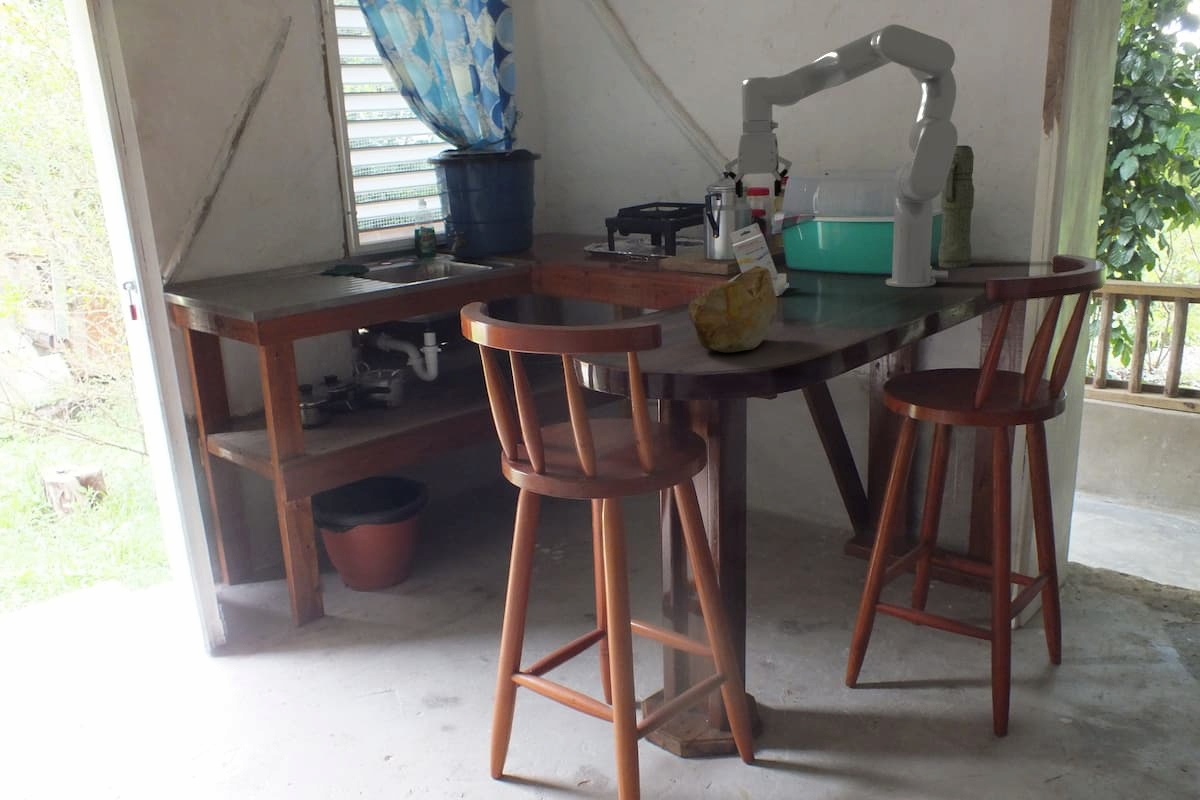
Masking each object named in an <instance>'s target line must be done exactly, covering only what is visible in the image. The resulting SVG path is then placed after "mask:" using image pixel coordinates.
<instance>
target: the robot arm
mask: <svg viewBox="0 0 1200 800" xmlns="http://www.w3.org/2000/svg"><path fill="white" fill-rule="evenodd" d="M955 54H956V53H955V50H954V48H953V46H952V45H950V43H948V42H947V41H945V40H943V39H941V38H938V37H935V36H931V35H929V34H927V33H924V32H920V31H918V30H915V29H912V28H910V27H907V26H905V25H902V24H901V25H900V24H888V25H886V26H884V27H882V28H879V29H877V30H875V31H873V32H871V33H868V34H866V35H864V36H862V37H860V38H858V39H856V40H853V41H851V42H849V43H846V44H844V45H842V46H840V47H837V48H835V49H834V50H831V51H828V52H827V53H826V54H824V55H822V56H820V57H819V58H817V59H815V60H814V61H812V62H810V63H807V64H806V65H804V66H802V67H800V68H797V69H795V70H793V71H791V72H789V73H786V74H783V75H782V74H781V75H779V76H773V77H766V76H759V77H758V76H757V77H749V78H745V79H744V80H743V81H742V82H741V102H742V103H741V106H742V109H741V110H742V111H741V112H742V113H741V115H742V134H740V135H739V140H738V141H739V142H738V150H737V152H738V153H737V158H735V159H733V160H731V161H730V162H728V163H726V164H725V165H724V170H725V171H726V173H727V174H728V176H729V177H730V179H732V180H733V182H734V186H735V189H734V190H735V191H734V192H735V195H737V198H738V199H741V198H743V196H744V189H743V186H744V185H743V183H744V182H743V181H742V179H743V178H744V176H745V175H760V174H771V175H772V176H773V177H774V178H775V180H774V182H773V183H774V186H773V187H774V189H773V190H774V193H773V194H774V197H776V198H777V197H780V194H782V187H783V186H782V180H783V179H784V178H785V176H786V175H787V174H789V171H790V169H791V168H792V165H793V162H792V161H790V160H788V159H787V158H784V157H782V156H780V154H779V145H778V137H777V133H776V132H775V133H774V132H773V131H774V130H775V129H779V122H775V121H774V120H773V105H776V106H778V107H781V108H785V107H789V106H793V105H795V104H797V103H799V102H800V101H802V100H804V99H805V98H808V97H810V96H812V95H814V94H817V93H820V92H822V91H824V90H827V89H831V88H835V87H839V86H841V85H844V84H845V83H848V82H851V81H852V80H855V79H857V78H859V77H861V76H864V75H866V74H868V73H870V72H873V71H874V70H877V69H879V68H882V67H884V66H886V65H888V64H890V63H894V64H897V65H899V66H901V67H905V68H908V69H909V71H910V73H911V75H912V76H913V77H914V78H915V79H916V81H917V82H918V86H919V87H920V88H919V90H920V96H919V101H918V106H917V109H916V113H915V116H914V119H913V124H912V126H911V130H910V132H909V136H908V145H909V146H908V147H909V148H910V150H911V151H912V153H914V154H913V158H912V160H911V161H908V162H906V163H904V164H902V165H901V166H900V167H899V168H898V169H897V170H896V173H895V174H894V177H893V181H892V193H893V202H894V203H893V211H894V213H893V215H894V216H893V235H892V236H893V238H892V240H893V241H892V244H893V245H892V270H891V277H890V278H887V279H885V284H886V285H887V286H888V287H889V286H890V287H896V288H926V287H932V286H935V285H936V283H937V280H936V279H937V278H938V279H939V278H940V279H948V277H949V270H936V269H933V266H932V265H931V260H932V259H931V258H932V238H933V237H932V235H933V216H934V215H933V199H935V198H937V197H938V196H939V195H940V194H941V193H942V189H943V188H944V185H945V183H946V180H947V177H948V174H949V170H950V167H951V164H952V161H953V157H954V154H955V150H956V147H957V146H958V138H959V136H958V131H957V130H958V129H957V128H956V126H955V124H954V123H953V122H952V121H951V119H952V117H953V116H952V114H953V112H954V111H953V110H954V106H955V102H956V98H957V83H956V79H955V76H954V73H953V71H952V68H953V66H954V64H955V61H956V55H955ZM780 164H783V165H784V168H783V170H782V171H781V172H780V171H779V167H780ZM736 165H737V172H738V173H737V174H736V172H734V171H733V167H735V166H736Z"/></svg>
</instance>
